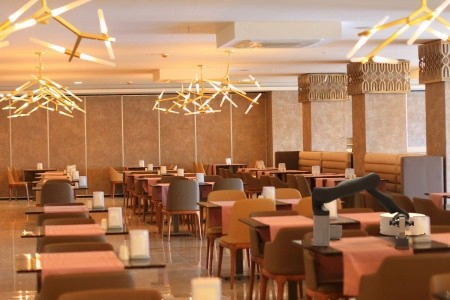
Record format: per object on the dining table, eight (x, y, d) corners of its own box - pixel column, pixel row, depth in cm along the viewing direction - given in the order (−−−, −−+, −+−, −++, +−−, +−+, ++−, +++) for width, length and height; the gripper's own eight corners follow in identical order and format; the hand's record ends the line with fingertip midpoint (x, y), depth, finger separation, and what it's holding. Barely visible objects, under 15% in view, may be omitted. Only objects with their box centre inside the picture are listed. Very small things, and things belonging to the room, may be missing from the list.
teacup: (337, 240, 536) (337, 227, 536) (320, 239, 542) (320, 225, 542) (347, 237, 548) (347, 224, 548) (330, 236, 554) (330, 223, 554)
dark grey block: (409, 248, 503) (409, 238, 503) (395, 248, 504) (395, 238, 504) (409, 246, 513) (409, 236, 513) (394, 245, 514) (394, 236, 514)
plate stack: (422, 230, 583) (422, 212, 583) (427, 236, 555) (428, 217, 555) (378, 230, 586) (378, 212, 586) (381, 236, 558) (381, 217, 558)
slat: (404, 245, 506) (405, 218, 505) (399, 245, 506) (399, 218, 506) (404, 244, 511) (404, 217, 510) (399, 243, 511) (399, 217, 511)
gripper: (389, 214, 536) (389, 217, 520) (413, 215, 534) (414, 218, 518) (389, 227, 536) (389, 230, 520) (413, 227, 534) (414, 231, 518)
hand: (402, 224), depth 519 cm, fingers open, 8 cm apart
